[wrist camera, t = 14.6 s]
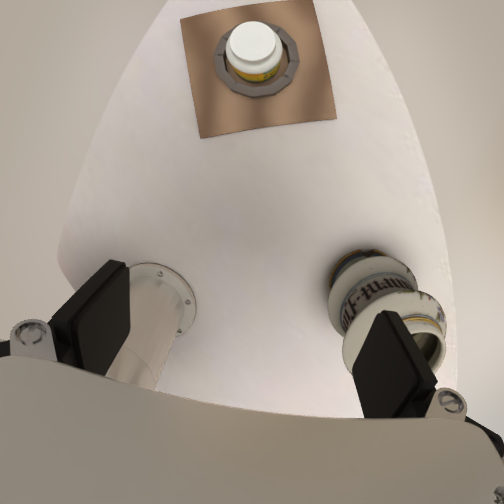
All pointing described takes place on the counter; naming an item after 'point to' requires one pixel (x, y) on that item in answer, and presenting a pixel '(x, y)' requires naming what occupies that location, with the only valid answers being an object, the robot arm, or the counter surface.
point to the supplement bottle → (254, 52)
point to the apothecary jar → (383, 304)
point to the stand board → (266, 93)
